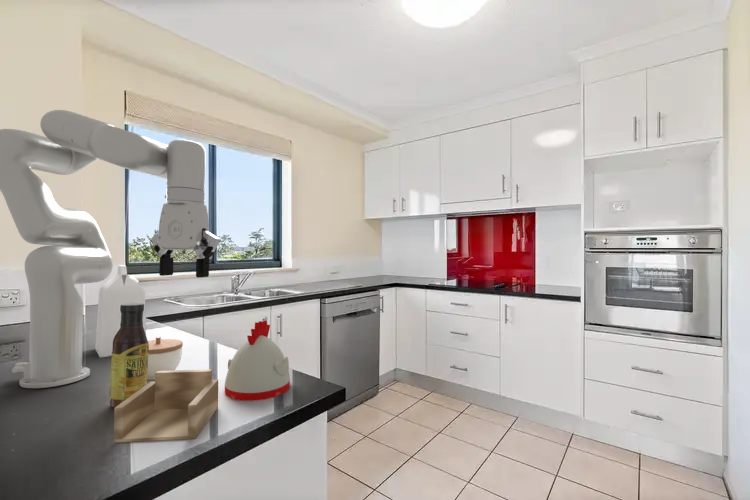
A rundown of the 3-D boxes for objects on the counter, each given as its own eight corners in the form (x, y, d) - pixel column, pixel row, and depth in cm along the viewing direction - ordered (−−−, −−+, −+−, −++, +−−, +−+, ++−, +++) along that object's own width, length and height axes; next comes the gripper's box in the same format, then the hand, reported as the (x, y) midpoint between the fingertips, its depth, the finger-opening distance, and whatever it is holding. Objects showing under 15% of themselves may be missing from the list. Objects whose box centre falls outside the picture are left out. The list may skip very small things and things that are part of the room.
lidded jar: (190, 369, 96) (191, 333, 96) (166, 383, 85) (166, 343, 86) (149, 368, 96) (150, 332, 96) (120, 382, 86) (121, 342, 86)
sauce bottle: (128, 411, 70) (129, 307, 71) (101, 408, 72) (102, 305, 72) (155, 398, 77) (156, 302, 77) (129, 395, 78) (131, 301, 78)
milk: (95, 349, 115) (96, 265, 115) (138, 343, 122) (139, 264, 123) (99, 357, 106) (101, 266, 106) (146, 350, 114) (147, 265, 114)
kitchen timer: (299, 381, 88) (300, 318, 88) (271, 403, 75) (271, 329, 75) (247, 376, 91) (248, 315, 92) (210, 397, 78) (211, 326, 78)
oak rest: (113, 442, 59) (114, 395, 59) (150, 410, 71) (151, 371, 71) (195, 438, 61) (196, 392, 61) (217, 407, 73) (218, 369, 73)
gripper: (140, 196, 80) (138, 275, 80) (206, 195, 75) (204, 278, 75) (168, 201, 88) (166, 273, 87) (230, 200, 83) (228, 276, 83)
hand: (184, 276), depth 81 cm, fingers open, 9 cm apart
